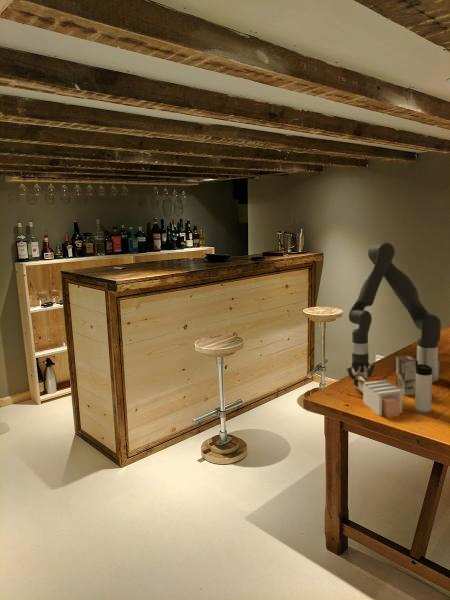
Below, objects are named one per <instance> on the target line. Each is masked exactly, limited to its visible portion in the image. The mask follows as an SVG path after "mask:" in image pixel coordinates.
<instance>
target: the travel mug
mask: <svg viewBox="0 0 450 600" xmlns="http://www.w3.org/2000/svg"><path fill="white" fill-rule="evenodd" d="M415 367H416V384H415V396H414V411H416V412H417V413H419V414H430V413H432V401H433V400H432V397H433V395H432V393H433V391H432V389H433V382H432V368H431V367H429V366H428V365H423V364H417V365H415Z"/></svg>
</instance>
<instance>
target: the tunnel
mask: <svg viewBox="0 0 450 600" xmlns="http://www.w3.org/2000/svg"><path fill="white" fill-rule="evenodd" d="M383 395H386V396H387V397H388V398H394V399H396V400H397V401H398V402H400V413H403V394H402V390H400V389H397V387H396V385H393V383H391V382H388V380H386V379H381V380H374V381H367V382H364V384H363V393H362V403H364V405H366V406H367V407H368V408H369V409H371V411H373V412H375V414H377V415H378V416H382V415H383V413H382V396H383Z"/></svg>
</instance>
